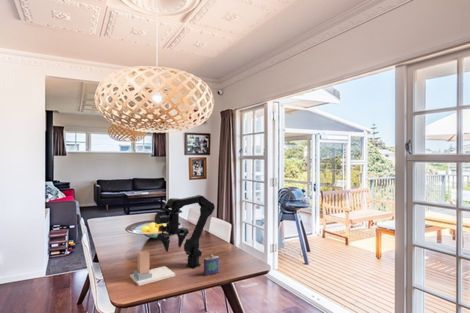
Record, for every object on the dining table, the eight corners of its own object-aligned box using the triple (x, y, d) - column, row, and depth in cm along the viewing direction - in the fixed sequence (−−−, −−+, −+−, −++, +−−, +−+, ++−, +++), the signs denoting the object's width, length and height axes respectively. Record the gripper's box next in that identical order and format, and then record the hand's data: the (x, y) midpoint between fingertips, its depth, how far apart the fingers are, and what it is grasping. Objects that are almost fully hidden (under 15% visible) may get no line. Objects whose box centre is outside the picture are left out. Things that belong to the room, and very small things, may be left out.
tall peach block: (146, 273, 158) (146, 249, 158) (149, 276, 155) (149, 251, 155) (137, 275, 155) (137, 251, 155) (139, 278, 152) (140, 253, 152)
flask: (217, 271, 166) (217, 252, 166) (220, 273, 164) (220, 253, 163) (203, 274, 161) (203, 255, 161) (205, 276, 159) (205, 256, 159)
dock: (164, 268, 169) (165, 260, 169) (175, 275, 159) (175, 268, 159) (130, 276, 157) (130, 269, 157) (138, 285, 147) (138, 277, 147)
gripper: (176, 216, 175) (176, 242, 176) (150, 222, 160) (150, 250, 161) (189, 219, 169) (189, 246, 169) (163, 225, 154) (163, 255, 154)
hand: (173, 249), depth 163 cm, fingers open, 9 cm apart
